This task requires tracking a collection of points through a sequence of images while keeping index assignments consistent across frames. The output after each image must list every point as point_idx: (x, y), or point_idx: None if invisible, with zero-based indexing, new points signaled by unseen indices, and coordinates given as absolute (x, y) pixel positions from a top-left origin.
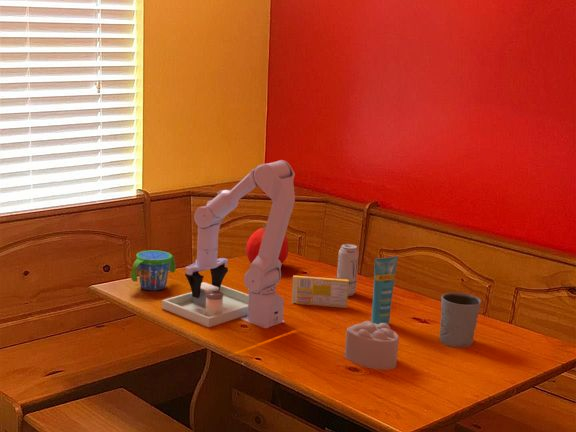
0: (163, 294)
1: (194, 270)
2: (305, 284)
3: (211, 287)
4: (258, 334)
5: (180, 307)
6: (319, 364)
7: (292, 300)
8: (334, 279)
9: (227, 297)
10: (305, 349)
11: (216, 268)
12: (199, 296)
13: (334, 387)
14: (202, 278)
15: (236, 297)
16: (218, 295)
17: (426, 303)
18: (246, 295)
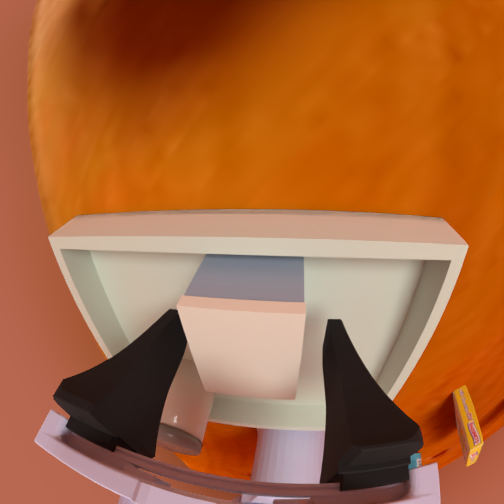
0: (186, 19)
1: (97, 455)
2: (464, 442)
3: (261, 385)
4: (232, 433)
5: (90, 329)
6: (231, 466)
7: (454, 398)
8: (469, 462)
9: (402, 300)
10: (251, 460)
11: (331, 474)
12: (186, 344)
13: (206, 470)
14: (151, 444)
15: (401, 339)
16: (173, 450)
17: (497, 427)
18: (387, 392)
